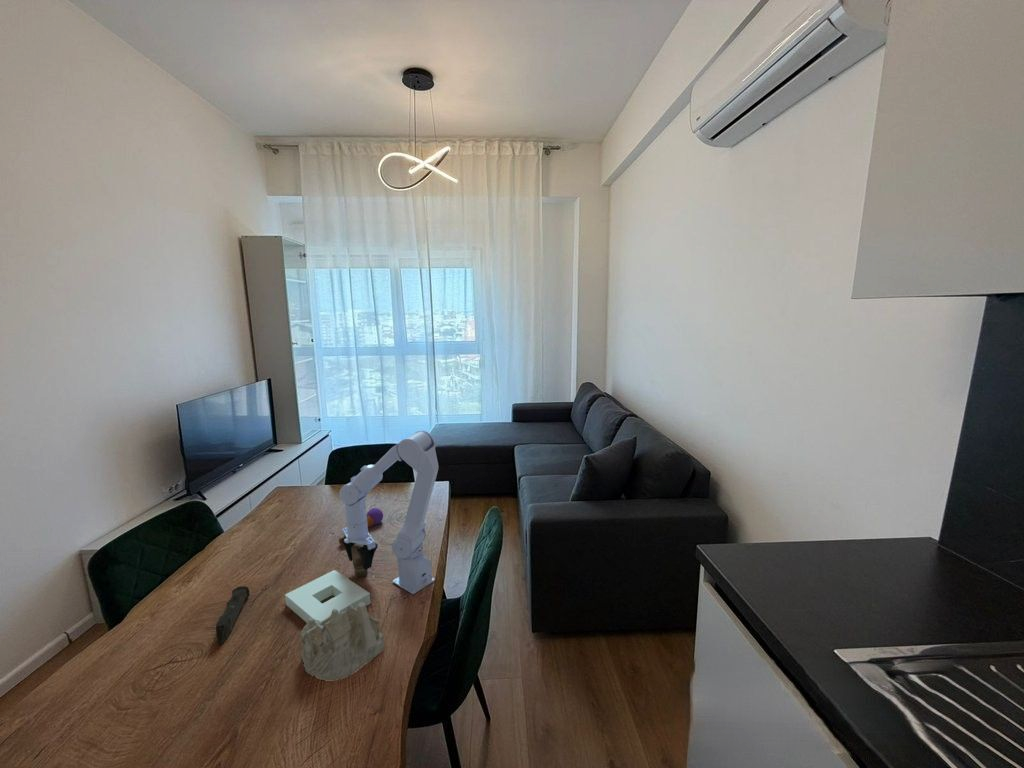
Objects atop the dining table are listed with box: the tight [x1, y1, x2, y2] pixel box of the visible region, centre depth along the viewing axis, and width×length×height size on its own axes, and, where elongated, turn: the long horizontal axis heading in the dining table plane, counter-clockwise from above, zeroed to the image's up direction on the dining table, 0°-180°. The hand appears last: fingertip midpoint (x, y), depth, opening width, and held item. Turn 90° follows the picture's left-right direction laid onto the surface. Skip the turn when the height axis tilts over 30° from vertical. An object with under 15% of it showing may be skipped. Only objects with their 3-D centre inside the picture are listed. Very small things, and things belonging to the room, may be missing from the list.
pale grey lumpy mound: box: [298, 603, 386, 680], centre depth 96 cm, size 16×16×15 cm
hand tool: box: [215, 585, 250, 647], centre depth 108 cm, size 19×4×5 cm, turn 16°
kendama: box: [338, 507, 384, 547], centre depth 152 cm, size 6×6×20 cm
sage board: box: [284, 569, 372, 624], centre depth 114 cm, size 18×14×3 cm
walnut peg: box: [351, 543, 369, 579], centre depth 126 cm, size 4×4×9 cm
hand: (360, 563), depth 126 cm, fingers open, 7 cm apart
